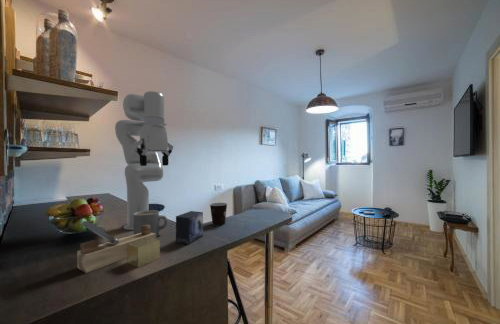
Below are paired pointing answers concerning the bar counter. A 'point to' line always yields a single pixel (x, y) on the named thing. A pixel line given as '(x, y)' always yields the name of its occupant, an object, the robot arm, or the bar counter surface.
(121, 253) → the wooden block plane
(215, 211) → the coffee mug
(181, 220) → the small box
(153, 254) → the olive cube-like block
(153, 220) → the coffee mug
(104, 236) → the lever
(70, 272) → the bar counter surface
